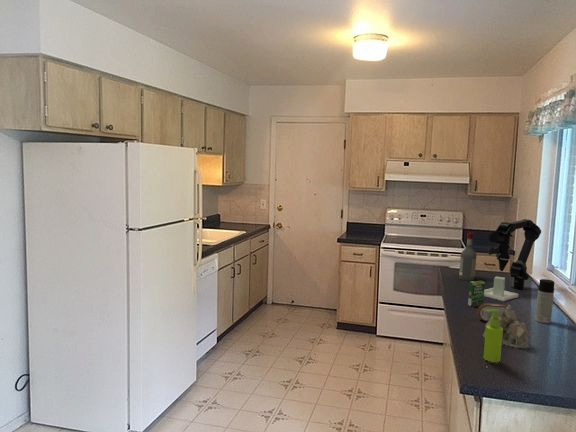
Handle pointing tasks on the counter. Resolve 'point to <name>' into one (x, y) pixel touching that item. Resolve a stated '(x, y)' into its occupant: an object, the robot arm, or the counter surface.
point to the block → (499, 286)
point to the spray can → (544, 301)
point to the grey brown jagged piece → (512, 329)
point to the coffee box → (476, 293)
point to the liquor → (468, 261)
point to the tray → (505, 297)
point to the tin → (486, 315)
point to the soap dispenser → (493, 338)
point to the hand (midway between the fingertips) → (501, 270)
